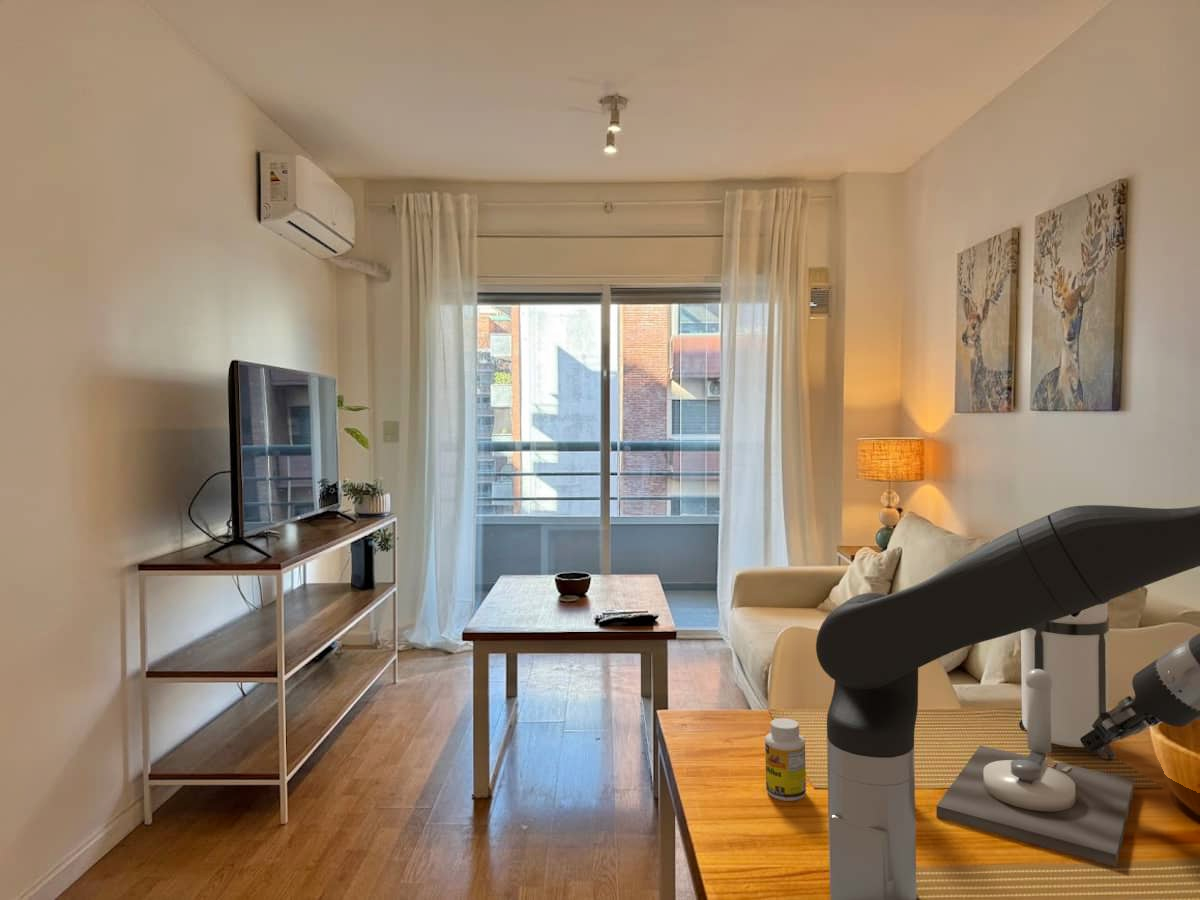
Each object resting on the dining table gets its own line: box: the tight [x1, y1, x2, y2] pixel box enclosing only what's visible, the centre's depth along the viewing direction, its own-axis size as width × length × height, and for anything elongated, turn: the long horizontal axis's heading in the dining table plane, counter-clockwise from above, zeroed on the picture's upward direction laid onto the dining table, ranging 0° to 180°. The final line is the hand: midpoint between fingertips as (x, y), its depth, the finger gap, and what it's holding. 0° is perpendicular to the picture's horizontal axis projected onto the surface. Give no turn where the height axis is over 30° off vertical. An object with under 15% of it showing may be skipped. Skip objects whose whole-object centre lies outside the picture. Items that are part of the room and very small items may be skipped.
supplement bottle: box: [764, 717, 807, 802], centre depth 110 cm, size 6×6×10 cm
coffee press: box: [1018, 600, 1115, 761], centre depth 126 cm, size 17×16×30 cm
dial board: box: [935, 745, 1135, 868], centre depth 106 cm, size 24×20×2 cm
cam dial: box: [983, 669, 1075, 812], centre depth 107 cm, size 16×11×15 cm
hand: (1088, 745), depth 106 cm, fingers closed
